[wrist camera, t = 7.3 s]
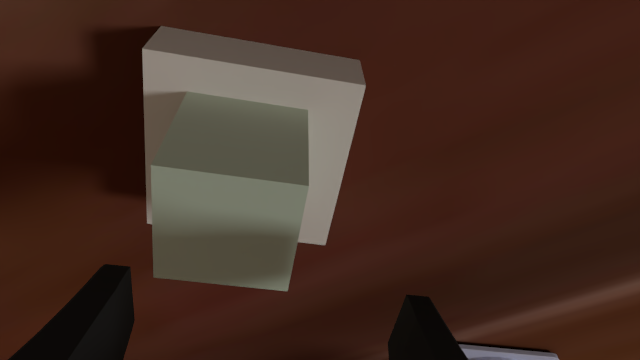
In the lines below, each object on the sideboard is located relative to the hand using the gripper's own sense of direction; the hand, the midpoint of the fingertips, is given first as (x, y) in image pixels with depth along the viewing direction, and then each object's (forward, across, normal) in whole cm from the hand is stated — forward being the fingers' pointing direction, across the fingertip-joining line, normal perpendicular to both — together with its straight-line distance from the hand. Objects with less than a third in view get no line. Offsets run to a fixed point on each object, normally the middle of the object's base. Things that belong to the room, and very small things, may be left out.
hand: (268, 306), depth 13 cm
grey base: (+11, +1, +1) cm, 11 cm away
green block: (+8, +2, 0) cm, 8 cm away
